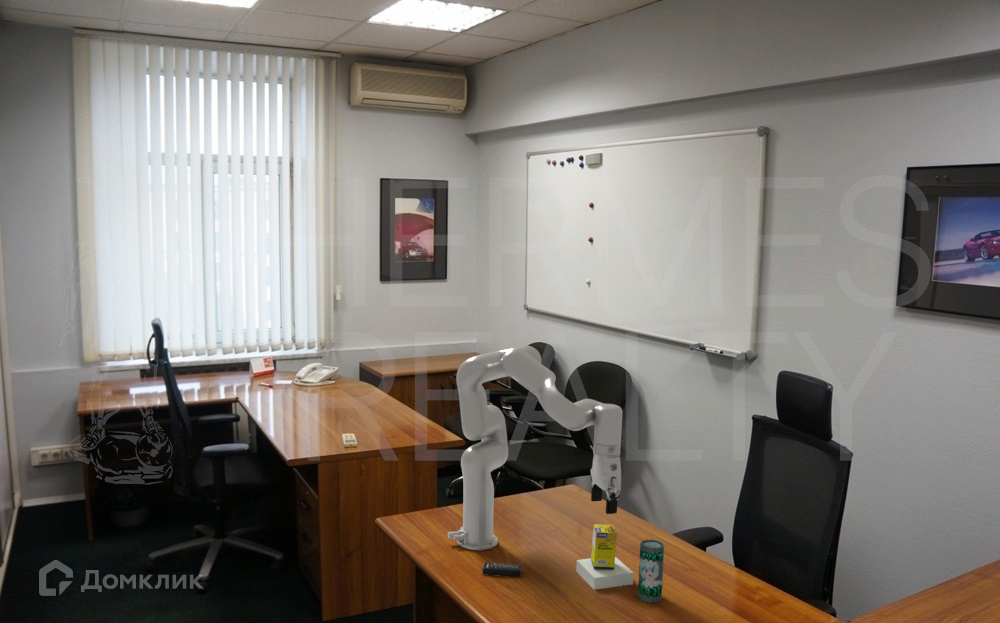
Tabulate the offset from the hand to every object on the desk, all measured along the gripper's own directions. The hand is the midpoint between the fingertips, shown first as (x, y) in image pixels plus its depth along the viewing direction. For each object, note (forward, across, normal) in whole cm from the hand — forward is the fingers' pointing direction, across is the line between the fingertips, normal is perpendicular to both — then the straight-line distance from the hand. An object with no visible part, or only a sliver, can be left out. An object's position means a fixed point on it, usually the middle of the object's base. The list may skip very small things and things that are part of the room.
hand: (603, 506), depth 218 cm
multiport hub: (+22, +9, +26) cm, 35 cm away
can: (+20, -16, -8) cm, 27 cm away
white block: (+21, -1, -1) cm, 21 cm away
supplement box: (+17, -1, 0) cm, 17 cm away
